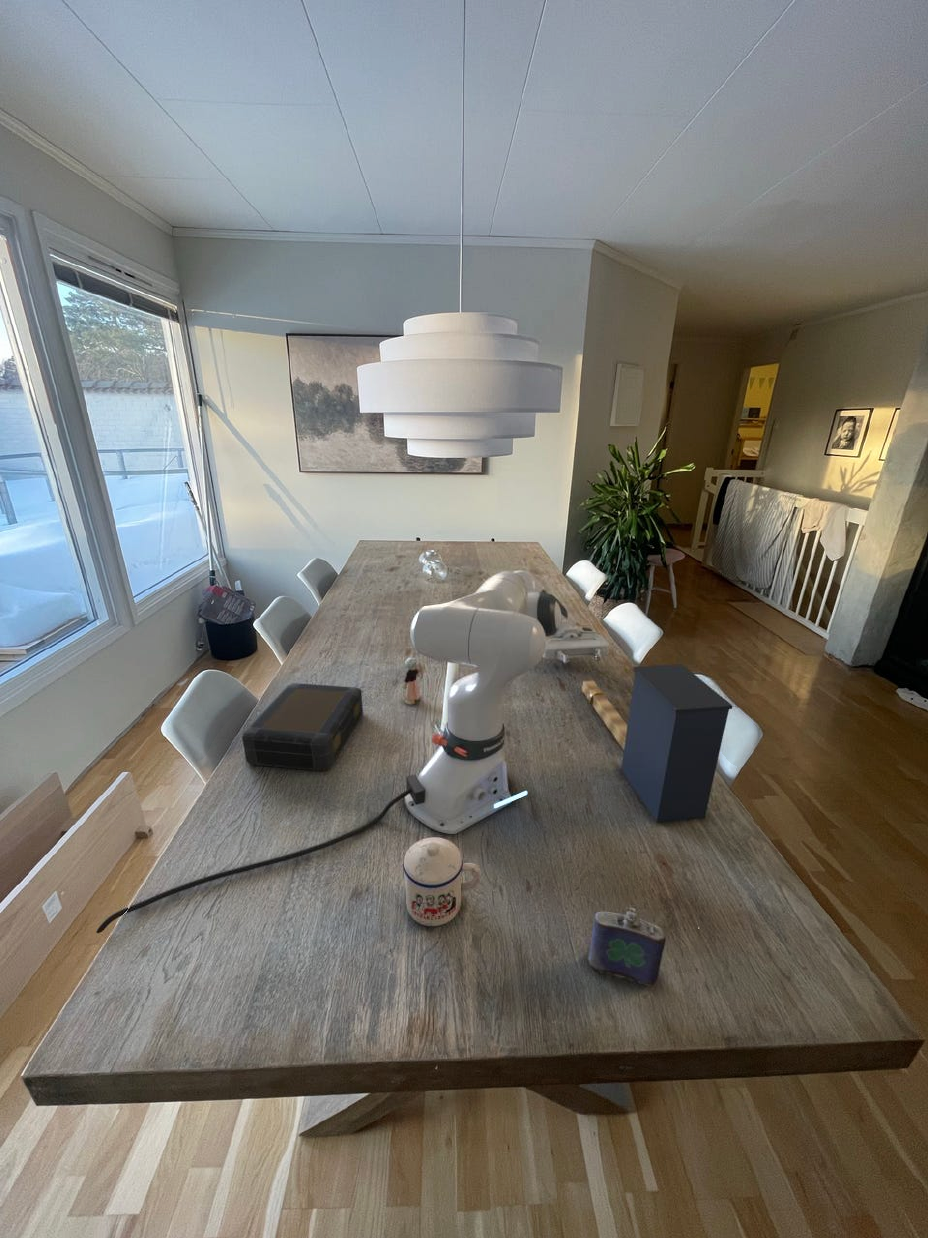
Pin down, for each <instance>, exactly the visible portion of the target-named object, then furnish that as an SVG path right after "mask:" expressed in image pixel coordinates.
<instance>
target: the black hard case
mask: <svg viewBox="0 0 928 1238" xmlns="http://www.w3.org/2000/svg"><path fill="white" fill-rule="evenodd" d="M363 714H364V709H363V695H362V689H361V688H359V687H353V686H340V685H326V684H315V683H314V684H313V683H301V682H300V683H298V682H292V683H290V684H288V685H287V686H286V687H285V688H284V689H283V690H282V691H281V692H280V693H279V694H278V695H277V696H276V697H275V698H274V700H273V701H272V702H271V703H270V704H269V705H268V706H267V707H266V708H265V709H264V710H263V711H262V712H261V713H260V714H259V716H257V718H256V719H255V720H254V721H253V722H252V723H251V724H250V725H249V726H248V727H247V728H246V729H245V730H244V731H243V732H242V737H241V738H242V744H243V750H244V755H245V761H246V763H247V764H249V765H255V766H265V767H276V768H287V769H297V770H298V769H299V770H307V771H320V772H324V771H328V770H330V769H331V768H332V767H333V765H334V764H335V762H336V760H337V759H338V757H339V755H340V754H341V752H342V751H343V748H344V747H345V745H346V743H347V742H348V740H349V738H350V737H351V735H352V733H353V732H354V730H355V728H356V727H357V725H358V723H359V721H360V720H361V718H362V717H363Z"/></svg>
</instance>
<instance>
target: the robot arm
mask: <svg viewBox="0 0 928 1238" xmlns="http://www.w3.org/2000/svg"><path fill="white" fill-rule="evenodd" d="M409 636H410V641H411V644H412V646H413V648H414V650H415V651H416V653H417V654H419V655H421V656H424V657H426V658H429V659H432V660H435V661H438V662H442V663H448V664H449V663H450V664H456V665H464V666H469V667H474V668H476V670H477V672H474V673H471V674H468V675H466V676H463V677H461V678H459V679H458V680H456V681H455V682H454V683H452V685H451V686H450V688H449V690H448V693H447V721H446V723H445V727H444V730H443V733H442V735H441V734H440V733H438V732H436V733H434V734H433V736H432V738H431V742H432V743H433V744H435V745H437V746H439V747H438V748H437V749H436V750H435V752H434V753H433V755H432V756H431V757H430V759H428V761H427V763H426V764H425V765H424V767H423V768H422V770H421V771H420V773H419V774H418V777H417V775H416V774H415V773H414V774H410V775H406V777H405V780H406V781H405V783H406V790H405V791H403V792H401V793H400V794H398V795H397V796H395V797H394V798H393V799H392V800H390V801H389V802H388V803H387V804H386V806H385V807H384V809H383V810H382V811H381V813H380V814H378V815H377V816H376V817H375V818H373V819H372V820H371V821H368V822H367V823H366V824H364V825H362V826H360V827H358V828H355V829H353V830H351V831H348V832H347V833H344V834H342V835H340V836H338V837H335V838H333V839H329V840H328V841H326V842H322V843H319V844H317V845H314V846H311V847H308V848H304V849H302V850H299V851H296V852H292V853H288V854H285V855H280V856H277V857H274V858H270V859H265V860H261V861H258V862H254V863H251V864H247V865H244V866H239V867H236V868H232V869H228V870H224V871H222V872H218V873H215V874H214V873H213V874H211V875H207V876H205V877H201V878H199V879H196V880H192V881H189V882H187V883H183V884H181V885H179V886H176V887H173V888H170V889H168V890H165V891H163V892H160V893H158V894H156V895H153V896H151V897H149V898H147V899H143V900H142V901H140V902H137V903H135V904H132V905H130V908H129V909H128V907H129V906H127V907H124V908H122V909H119V910H118V911H116V912H115V913H113V914H111V915H110V916H108V917H107V918H106V919H105V920H104V921H102V923H101V924H100V925H99V927H98V928H97V930H96V931H95V933H96V934H100V933H102V932H104V931H105V930H106V929H107V927H108V926H109V925H111V923H112V922H114V921H115V920H117V919H118V918H120V917H123V916H124V915H126V914H129V913H131V912H134V911H137V910H139V909H141V908H144V907H147V906H148V905H151V904H153V903H155V902H157V901H159V900H162V899H165V898H167V897H169V896H172V895H174V894H178V893H179V892H180V893H181V892H182V891H186V890H188V889H191V888H193V887H197V886H200V885H203V884H206V883H208V882H212V881H216V880H219V879H223V878H226V877H229V876H233V875H236V874H240V873H245V872H247V871H251V870H255V869H258V868H262V867H266V866H271V865H274V864H278V863H281V862H285V861H288V860H289V861H290V860H293V859H295V858H299V857H302V856H304V855H308V854H310V853H314V852H317V851H319V850H322V849H325V848H328V847H330V846H332V845H335V844H337V843H340V842H342V841H344V840H346V839H348V838H351V837H354V836H356V835H358V834H361V833H362V832H364V831H366V830H367V829H369V828H371V827H373V826H374V825H376V824H377V823H378V822H380V821H381V820H382V819H383V818H384V817H385V816H386V815H387V813H388V812H389V810H390V809H391V808H392V807H393V806H394V805H395V804H396V803H397V802H399V801H400V800H402V799H403V798H404V805H405V807H406V809H407V810H408V812H409V813H410V815H412V816H413V817H414V818H415V819H417V820H418V821H419V822H420V823H422V824H424V825H425V826H427V827H428V828H429V829H432V830H434V831H437V832H439V833H443V834H446V835H447V834H448V835H456V834H458V833H461V832H462V831H464V830H465V829H467V828H469V827H471V826H472V825H474V824H476V823H479V822H480V821H482V820H483V819H485V818H487V817H489V816H490V815H493V814H494V813H496V812H498V811H500V810H501V809H504V808H505V807H507V806H509V805H510V804H511V803H512V802H513V801H515V800H517V799H520V798H523V797H524V796H527V795H528V791H527V790H525V791H522V792H520V793H518V794H516V795H511V791H510V790H509V780H508V769H507V768H508V767H507V762H506V758H505V752H504V745H505V739H506V732H505V731H506V730H505V729H506V728H505V724H504V710H505V702H506V697H507V694H508V691H509V690H510V687H511V686H512V684H513V683H514V681H516V680H517V679H518V678H519V677H521V675H523V674H524V673H526V672H529V671H530V670H532V669H534V668H535V667H536V666H537V665H538V664H539V663H540V662H541V660H542V659H546V660H559V661H562V662H563V663H564V664H569V663H570V662H571V661H570V660H571V659H573V658H589V657H593V660H594V661H595V662H601V661H602V657H606V656H608V655H609V652H610V643H609V642H608V640H607V639H605V638H604V637H603V636H602V635H600V634H598V633H597V630H596V629H594V628H588V627H581V626H577V625H575V624H573V622H572V621H571V620H570V618H569V616H568V610H567V608H566V607H565V606H564V605H563V604H562V603H561V602H560V600H559V599H558V598H557V597H556V596H555V595H553V594H551V593H549V590H548V588H547V586H546V584H545V583H544V581H543V580H542V579H541V578H540V577H539V576H538V575H537V574H535V573H533V572H532V571H529V570H524V569H520V570H514V571H511V570H504V571H500V572H498V573H495V574H494V575H492V576H490V577H489V578H487V579H486V580H485V581H484V582H483V583H482V584H481V585H480V587H479V588H478V589H477V590H475V592H474V593H472V594H468V595H465V596H463V597H460V598H457V599H454V600H452V601H448V602H444V603H438V604H430V605H424V606H422V607H421V608H419V610H418V611H417V612H416V614H414V616H413V619H412V621H411V625H410V631H409ZM127 910H128V911H127ZM126 911H127V913H126V914H124V913H125V912H126ZM123 914H124V915H123Z"/></svg>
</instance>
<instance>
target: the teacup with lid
mask: <svg viewBox="0 0 928 1238" xmlns="http://www.w3.org/2000/svg"><path fill="white" fill-rule="evenodd" d="M402 868H403V869H402V870H403V872H404V879H405V882H404V883H405V902H406V904H405V905H406V909H407V912H408V914H409V916H410V917H411V918H412V920H414V921H415V922H417V923H418V924H420V925H423V926H426V927H437V926H442V925H445V924H447V923H449V922H451V921H452V920H453V919H454V918H455V917H456V916H457V914H458V912H459V911H460V908H461V904H462V892H468V891H471V890H473V889H475V888H476V887H477V886H478V885H479V884H480V882H481V879H482V870H481V868H480V866H479V865H477V864H476V863H473V862H464V859H463V855H462V852H461V851H460V849H459V847H458V846H456V844H455V843H453V841H450V840H448V839H446V838H443V837H434V836H432V837H426V838H422V839H420V840H418V841H416V842H415V843H413V844H412V845H411V846H410V847H409V848H408V850H407V851H406V853H405V854H404V857H403V862H402ZM463 872H473V873H475V876H474V877H473V879H472V880H470V881H468V882H467V881H466V882H463V883H462V873H463Z"/></svg>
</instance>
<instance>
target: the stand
mask: <svg viewBox="0 0 928 1238" xmlns="http://www.w3.org/2000/svg"><path fill="white" fill-rule="evenodd" d="M632 671H633V672H634V675H633V684H632V690H631V697H630V704H629V712H628V718H627V732H626V739H625V746H624V750H623V754H622V761H621V767H620V770H621V772H622V774H623V775H624V777H625V778H626V779H627V781H628V783H629V784H630V786H631V787H632V788H633V790H634V791H635V793H636V795H637V796H638V797H639V799H640V801H641V802H642V803H643V805H644V806H645V807H646V809H647V811H648V812H649V814H650V815H651V817H652V818H653V820H654V821H655V822H656V823H665V822H666V823H667V822H675V821H676V822H677V821H686V820H695V819H704V818H706V815H707V809H708V806H709V801H710V797H711V792H712V788H713V783H714V778H715V775H716V771H717V765H718V761H719V757H720V752H721V748H722V743H723V738H724V733H725V729H726V725H727V720H728V716H729V711H730V710H732V709H733V704H731V703H730V701H728V700H727V699H726V698H724V697H723V696H722V695H721V694H720V693H718V692H717V691H715V690H714V689H713V688H712V687H711V686H710V685H708V684H707V683H706V682H705V681H704V680H702V679H701V678H699V677H698V676H697V675H696V674H695V673H694V672H693V671H691V670H690V669H689V668H688V667H686V666H685V665H684V664H683V663H679V664H678V663H677V664H665V665H663V664H662V665H647V666H633V668H632Z"/></svg>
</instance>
